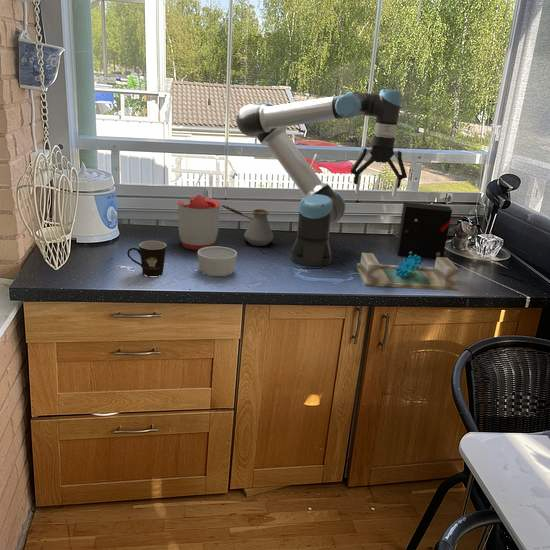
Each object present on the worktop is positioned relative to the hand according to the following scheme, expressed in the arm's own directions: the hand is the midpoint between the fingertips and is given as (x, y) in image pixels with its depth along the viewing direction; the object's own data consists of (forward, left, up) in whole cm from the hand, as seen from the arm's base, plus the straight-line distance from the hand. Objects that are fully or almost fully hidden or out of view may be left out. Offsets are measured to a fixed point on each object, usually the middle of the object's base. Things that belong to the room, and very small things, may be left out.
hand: (375, 194), depth 207 cm
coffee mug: (-78, -26, -25) cm, 86 cm away
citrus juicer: (-65, +5, -25) cm, 70 cm away
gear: (+10, -20, -24) cm, 33 cm away
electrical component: (+23, +9, -25) cm, 36 cm away
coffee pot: (-46, +12, -25) cm, 54 cm away
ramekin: (-56, -21, -25) cm, 65 cm away
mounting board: (+10, -19, -25) cm, 33 cm away
